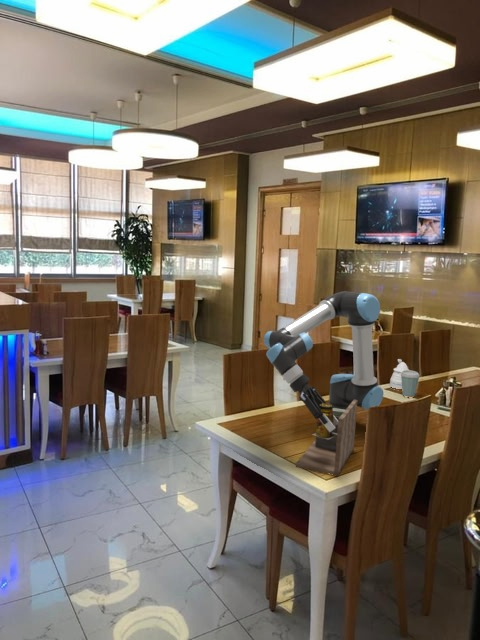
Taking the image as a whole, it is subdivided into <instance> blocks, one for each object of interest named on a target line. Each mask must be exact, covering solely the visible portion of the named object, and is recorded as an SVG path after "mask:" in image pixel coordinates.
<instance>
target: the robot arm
mask: <svg viewBox="0 0 480 640" xmlns="http://www.w3.org/2000/svg"><path fill="white" fill-rule="evenodd" d="M380 313H381V305H380V301H379V299H378V298H377V297H376V296H375V295H373V294H371V293H370V294H369V293H366V292H358V291H357V292H354V291H346V290H345V291H340V292H337V293H334V294H332V295H329V296H328V297H326V298H324V299H322V300H321V301H319V304H318V305H317V306H315V307H314V308H312V309H310V310H309V311H307V312H305V313H304V314H303V315H302V314H301V316H299V317H298V318H296V319H295V320H293V321H291V322H289V323H288V324H286V325H285V326H283V327H282V328H280V329H278V330H276V331H275V330H269V331H267V332H266V333H265V334H264V337H263V344H264V346H265V347H266V348H268V350H267V351H266V353H265V354H266V357H267V359H268V360H269V362H270V363H271V364H272V366H274V368H275V369H276V370H277V372H278V373H279V374H280V376H282V379H283V381H285V382H286V383H287V384H289V387H290V388H291V390H292V391H293V392H294V393H297V392H299V394H300V396H299V399H300V401H302V402H303V404H304V405H305V406H306V408H307V409H308V411H309V412H310V413H311V415H312V416H313V417H314V419H315V420H317V419H318V418H319V419H320V421H321V422H322V423H323V424H324V426H325V427H326V428H327V430H328V431H329V432H331V431H332V430H334V429H335V426H336V425H337V424H338V420H337V419H336V417H335V416H334V415H333V424H332V423H331V421H330V420H329V419H328V418H327V416H326V415H325V414H323V413H322V411H321V410H320V408H319V405H320V404H330V405H332V406H333V408H337V409H343V410H346V409H347V408H348V406H349V405H350V404H351V403H352V401H353V400H358V402H357V408H358V407H359V408H361V409H363V410H368V409H369V407H375V406H378V407H379V406H380V405H381V403H382V401H383V399H384V390H383V388H382V387H381V386H380V385H378V378H377V377H375V374H374V353H373V352H374V351H373V330H372V327H373V325H375V324H376V321H377V319H378V318H379V317H380ZM337 317H344V318H347V323H348V324H347V325H348V326H350V327H351V336H352V337H351V338H352V353H353V355H352V357H353V359H352V360H353V372H354V373H339V374H338V373H337V374H333V375H332V376H331V377H330V382H329V390H328V391H329V392H328V393H329V394H328V395H329V396H328V402H327V401H326V400H325V399H324V397H322V395H321V394H320V393H319V392H318V390H317V389H316V388H315V386H310V385H309V383H310V382H311V381H310V379H309V377H308V376H307V375H306V374H304V371H303V369H302V368H301V367H300V366H299V364H298V363H297V362H296V360H298V359H299V358H301V357H302V356H304V355H305V354H307V353H308V352H309V351H311V350H312V348H313V346H314V343H313V339H312V338H311V336H310V335H309V334H307V333H309V332H310V331H312V330H314V329H315V328H316V327H318V326H320V325H322V324H324V322H326V321H327V320H333V319H335V318H337ZM368 411H369V410H368Z"/></svg>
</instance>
